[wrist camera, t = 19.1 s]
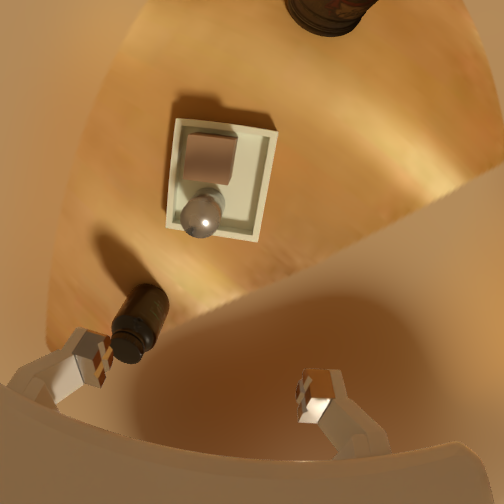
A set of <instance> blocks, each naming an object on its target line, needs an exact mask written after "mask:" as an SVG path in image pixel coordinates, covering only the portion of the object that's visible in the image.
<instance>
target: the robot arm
mask: <svg viewBox="0 0 504 504" xmlns="http://www.w3.org/2000/svg"><path fill="white" fill-rule="evenodd" d="M110 344H111V339H110V336H108V335H105V334H102V333H98V332H95V331H92V330H88V329H85V328H82V327H78V328H76V329H75V331H74V332H73V334H72V335H71V336H70V338H69V339H68V341H67V342H66V344H65V345H64V347H63V348H62V350H56V351H54V352H52V353H50V354H48V355H46V356H44V357H41V358H39V359H37V360H35V361H33V362H31V363H29V364H26V365H24V366H22V367H20V368H19V369H18V370H17V371H16V373H15V374H14V376H13V377H12V379H11V380H10V382H9V383H8V385H7V386H4V385H2V384H1V383H0V504H494V500H493V495H492V491H491V487H490V483H489V480H488V477H487V473H486V470H485V467H484V464H483V462H482V460H481V458H480V457H479V456H478V455H477V454H476V453H475V452H474V451H472V450H471V449H470V448H469V447H467V446H466V445H464V444H463V443H461V442H459V441H453V442H449V443H445V444H440V445H436V446H432V447H428V448H423V449H418V450H413V451H408V452H402V453H396V454H392V452H391V448H390V445H389V441H388V438H387V434H386V431H385V430H384V429H382V428H381V427H380V426H379V425H378V424H377V423H376V422H375V421H374V420H373V419H372V418H370V417H369V416H368V415H367V414H366V413H365V412H364V411H363V410H362V409H361V408H360V407H359V406H358V405H357V404H356V403H355V402H354V401H353V400H352V399H348V397H347V393H346V390H345V385H344V382H343V378H342V374H341V371H340V370H327V369H312V368H305V369H304V370H303V373H302V379H301V380H299V382H298V385H297V389H296V402H297V403H298V404H299V407H298V409H297V415H298V422H303V423H318V425H319V427H320V428H321V430H322V431H323V432H324V434H325V435H326V436H327V438H328V439H329V440H330V441H331V443H332V444H333V445H334V447H335V448H336V449H337V451H338V454H337V455H336V456H335V457H334V458H333V459H332V460H321V461H282V460H281V461H279V460H261V459H246V458H236V457H227V456H219V455H212V454H205V453H198V452H193V451H187V450H182V449H177V448H172V447H167V446H163V445H158V444H154V443H149V442H146V441H142V440H138V439H134V438H131V437H127V436H123V435H120V434H117V433H114V432H111V431H108V430H104V429H101V428H98V427H96V426H93V425H90V424H87V423H84V422H82V421H79V420H76V419H74V418H71V417H68V416H66V415H64V414H61V413H60V411H59V409H58V408H57V406H56V404H57V403H58V402H60V401H61V400H62V399H64V398H65V397H66V396H68V395H70V394H71V393H72V392H74V391H75V390H76V389H78V388H79V387H81V386H82V385H84V383H85V384H88V385H91V386H95V387H98V388H101V387H102V385H103V383H104V381H105V379H106V375H105V372H107V371H109V370H110V368H111V366H112V363H113V349H112V348H111V347H110Z"/></svg>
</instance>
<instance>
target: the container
mask: <svg viewBox="0 0 504 504" xmlns="http://www.w3.org/2000/svg"><path fill="white" fill-rule="evenodd" d="M377 1H378V0H288V10H289V12H290V14H291V16H292V18H293V19H294V20H295V21H296V23H297V24H298V25H300V26H301V27H302V28H304V29H305V30H307V31H309V32H311V33H313V34H316V35H320V36H325V37H337V36H342V35H345V34H347V33H349V32H351V31H352V30H353V29H354V28H355V27H356V26H357V24H358V23H359V22H360V20H361V18H362V16H364V14H365V13H366V11H367V10H368V9H369V8H370V7H371V6H372V5H373V4H375V3H376V2H377Z"/></svg>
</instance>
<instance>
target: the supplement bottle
mask: <svg viewBox="0 0 504 504" xmlns="http://www.w3.org/2000/svg"><path fill="white" fill-rule="evenodd" d="M168 311H169V301H168V298H167V296H166V295H165V294H164V292H163V291H162V290H160V289H159V288H157V287H156V286H153V285H150V284H141V285H138V286H136V287H135V288H134V289H133V290H132V291H131V292H130V294H129V295H128V297H127V299H126V300H125V302H124V303H123V305H122V306H121V308H120V310H119V311H118V313H117V315H116V316H115V318H114V320H113V322H112V326H111V329H112V334H113V335H112V337H111V344H110V347H111V348H112V349H113V356H115V357H116V358H117V359H118V360H120V361H121V362H124V363H127V364H136V363H138V362H139V361H140V360H141V358H142V356H143V354H144V352H147V351H149V350H151V349H152V348H153V347H154V345H155V343H156V341H157V339H158V336H159V334H160V331H161V329H162V326H163V324H164V321H165V319H166V317H167V314H168Z"/></svg>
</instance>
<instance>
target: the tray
mask: <svg viewBox="0 0 504 504" xmlns="http://www.w3.org/2000/svg"><path fill="white" fill-rule="evenodd" d="M195 132H203V133H212V134H220V135H227V136H234V137H238V141H237V147H236V153H235V160H234V166H233V173H232V177H231V180H230V182H229V184H228V186H227V185H221V184H214V183H207V182H200V181H192V180H185V179H183V172H184V163H185V154H186V146H187V138H188V134H191V133H195ZM277 137H278V131H274V130H269V129H263V128H257V127H251V126H244V125H237V124H230V123H223V122H215V121H206V120H197V119H186V118H176V121H175V129H174V137H173V146H172V155H171V165H170V175H169V187H168V199H167V214H166V228H170V229H176V230H183V231H185V230H184V229H183V227H182V225H181V222H180V214H181V211H182V209H183V208H184V206H185V205H186V204H187V203H188V201H189V200H190V199H191V198H192V196H193V195H194V194H195V193H196V192H197V191H198V190H199V189H201V188H205V187H211V188H214V189H216V190H218V191H219V192H220V193H221V194H222V195H223V197H224V199H225V209H224V212H223V215H222V218H221V220H220V223H219V226H218V228H217V230H216V232H215V233H214V234H212V235H215V236H221V237H227V238H234V239H240V240H246V241H252V242H258V238H259V233H260V228H261V222H262V217H263V212H264V206H265V201H266V196H267V190H268V185H269V180H270V174H271V169H272V164H273V158H274V153H275V147H276V142H277Z"/></svg>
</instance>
